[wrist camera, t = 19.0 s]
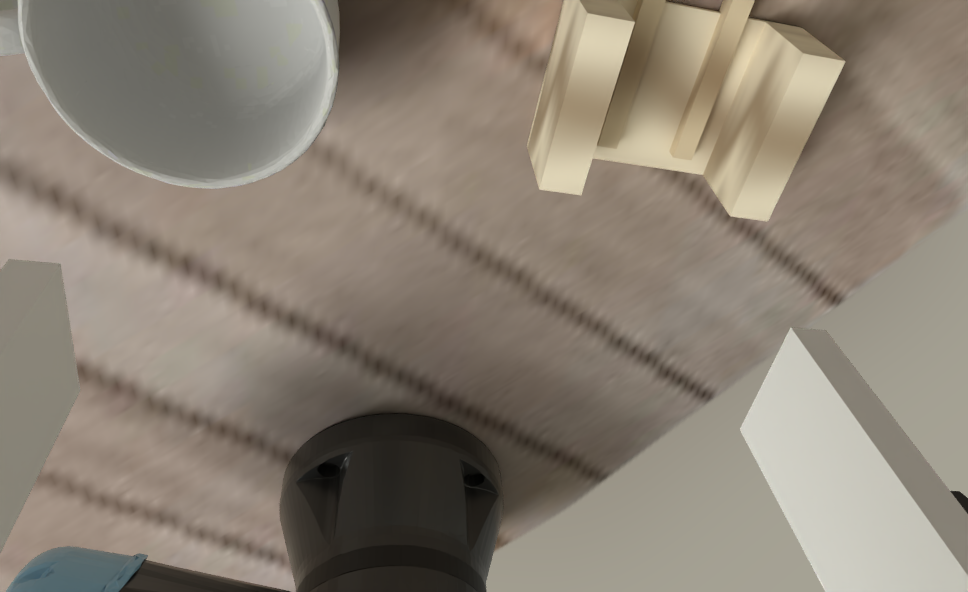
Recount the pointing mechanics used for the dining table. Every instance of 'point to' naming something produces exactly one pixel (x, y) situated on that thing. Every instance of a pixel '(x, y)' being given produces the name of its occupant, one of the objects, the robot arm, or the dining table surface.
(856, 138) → the dining table surface
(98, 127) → the teacup
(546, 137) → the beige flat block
